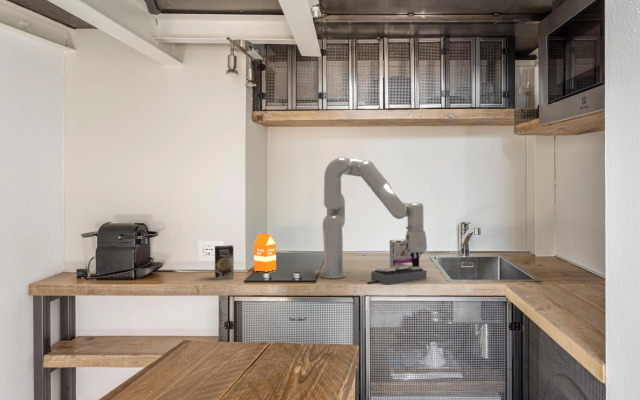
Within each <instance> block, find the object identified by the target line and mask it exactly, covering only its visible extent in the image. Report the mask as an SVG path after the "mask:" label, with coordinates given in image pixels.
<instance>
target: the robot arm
mask: <svg viewBox="0 0 640 400" xmlns="http://www.w3.org/2000/svg"><path fill="white" fill-rule="evenodd" d="M343 175H347V176H355V177H360V178H362V180H363V181H364V182H365V183H366V184H367V186H368V187H369V188H370V190H371V191H372V193H374V195H375V196H376V197H377V198H378V199H379V201H380V202H381V203H382V204H383V206H384V207H385V208H386V209H387V211H388V213H390V215H391V216H392V217H393V218H395V219H398V220H401V219H404V218H406V217H407V226H406V227H405V228H406V230H407V231H406V233H405V239H406V240H405V250H406V254H407V255H410V256H411V258H412V266H416V267H417V266H420V258H421V255H422V254H424V253H426V251H427V249H428V245H427V244H428V243H427V234H426V231H425V230H424V204H423V203H421V202H402V200H401V199H400V198H399V197H398V196H397V194H396V193H395V192H394V190H393V188H392V186H391V184H390V182H388V181H387V179H386V178H385V177H384V175H383V174H382V173H381V172H380V171H379V170H378V168H377V167H376V166H375V164H374V163H373V161H371V160H368V159H366V160H363V159H362V160H361V159H354V158H348V157H345V156H340V157H339V156H338V157H337V158H335V159H333V160H331V161H330V162H329V164H328V165H327V166H326V168H325V171H324V178H323V179H324V180H323V181H324V182H323V184H324V186H323V205H324V207H325V208H326V216H324V218H323V221H322V237H323V238H322V239H323V266H322V267H321V268H320V269H315V271H314V274H316V275H320V276H321V278H324V279H329V280H331V279H343V278H345V277H347V273H345V272H344V269H343V267H344V264H343V263H344V261H343V257H344V255H343V250H344V249H343V245H344V244H343V227H344V226H345V222H346V212H345V211H346V208H345V207H346V201H345V197H344V195H343V194H342V177H343Z"/></svg>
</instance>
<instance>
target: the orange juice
mask: <svg viewBox="0 0 640 400" xmlns="http://www.w3.org/2000/svg"><path fill="white" fill-rule="evenodd" d="M276 247H277V244H276V242H275V240H274V238H273V237H272V234H269V233H268V234H267V233H258V234H257V237H256V239H255V242H254V244H253V248H254V250H253V251H254V252H253V253H254V254H253V259H254V260H253V262H254V263H253V264H254V272H256V271H265V272H267V271H272V270H276V271H277V254H276V253H277V251H276V249H277V248H276Z"/></svg>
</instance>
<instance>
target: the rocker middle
mask: <svg viewBox="0 0 640 400" xmlns="http://www.w3.org/2000/svg"><path fill="white" fill-rule="evenodd" d="M393 267H394V268H396V269H407V268H408V266H393Z"/></svg>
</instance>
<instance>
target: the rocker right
mask: <svg viewBox="0 0 640 400" xmlns="http://www.w3.org/2000/svg"><path fill="white" fill-rule="evenodd" d="M402 266H408V268H409V269H411V270H416V269H421V266H420V265H419V266H417V267H416V266H412V263H411V262H408V263H402Z"/></svg>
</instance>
